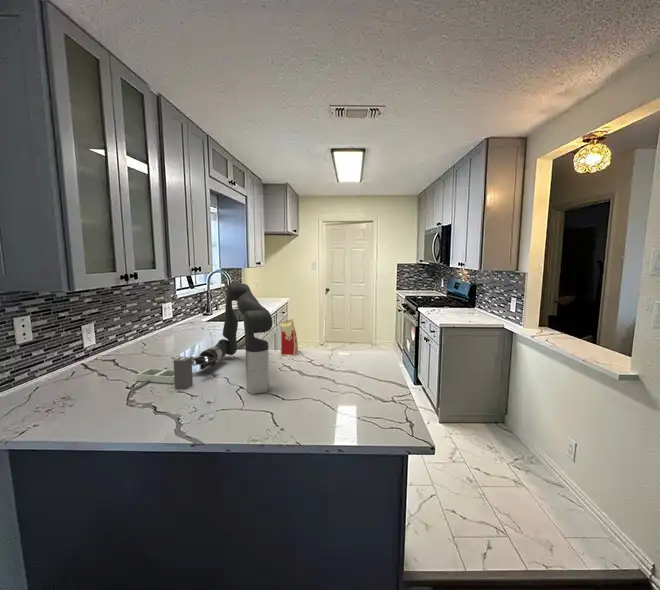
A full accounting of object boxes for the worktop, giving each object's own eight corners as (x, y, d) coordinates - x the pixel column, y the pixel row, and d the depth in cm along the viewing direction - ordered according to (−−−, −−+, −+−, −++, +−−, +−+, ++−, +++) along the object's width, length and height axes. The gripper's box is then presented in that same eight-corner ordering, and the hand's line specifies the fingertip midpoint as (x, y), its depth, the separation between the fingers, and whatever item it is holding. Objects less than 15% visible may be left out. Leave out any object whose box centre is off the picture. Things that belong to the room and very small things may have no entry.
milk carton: (298, 351, 196) (297, 317, 193) (294, 356, 187) (294, 320, 184) (282, 351, 197) (282, 317, 194) (278, 355, 188) (278, 320, 185)
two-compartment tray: (160, 392, 137) (159, 385, 137) (120, 389, 140) (120, 382, 140) (184, 377, 154) (184, 370, 153) (149, 375, 157) (148, 368, 156)
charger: (185, 389, 141) (184, 360, 139) (175, 388, 142) (173, 360, 140) (192, 384, 146) (191, 357, 144) (182, 383, 146) (180, 356, 145)
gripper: (197, 347, 166) (177, 357, 150) (224, 349, 163) (206, 359, 148) (198, 362, 167) (177, 373, 151) (224, 364, 164) (207, 375, 148)
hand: (192, 366), depth 149 cm, fingers open, 8 cm apart
